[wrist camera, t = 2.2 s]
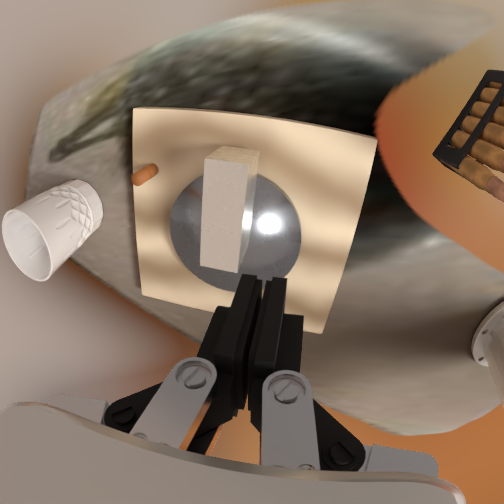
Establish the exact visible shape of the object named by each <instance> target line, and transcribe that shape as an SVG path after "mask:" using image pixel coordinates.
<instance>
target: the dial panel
mask: <svg viewBox="0 0 504 504" xmlns="http://www.w3.org/2000/svg"><path fill="white" fill-rule="evenodd" d="M377 141H378V140H377V139H376V138H375V137H372V136H368V135H364V134H359V133H355V132H351V131H346V130H342V129H337V128H332V127H327V126H322V125H317V124H312V123H307V122H301V121H295V120H289V119H283V118H276V117H269V116H262V115H254V114H246V113H237V112H228V111H217V110H205V109H190V108H171V107H138V108H133V174H132V176H131V181H132V183H133V189H134V210H135V225H136V239H137V250H138V261H139V270H140V279H141V288H142V295H145V296H149V297H153V298H156V299H160V300H164V301H168V302H172V303H176V304H180V305H184V306H188V307H192V308H197V309H201V310H205V311H209V312H215V309H216V307H217V306H225V307H230V306H231V304H232V301H233V298H234V295H235V292H231V291H226V290H222V289H219V288H216V287H214V286H211V285H209V284H207V283H205V282H204V281H202V280H201V279H199V278H198V277H197V276H195V275H194V274H193V273H192V272H191V271H190V270H189V269H188V268H187V267H186V266H185V265H184V264H183V262H182V261H181V259H180V258H179V256H178V255H177V253H176V251H175V249H174V246H173V243H172V240H171V235H170V216H171V211H172V208H173V205H174V203H175V201H176V199H177V197H178V196H179V195H180V193H181V192H182V191H183V190H184V189H185V188H186V187H187V186H188V185H189V184H190V183H191V182H192V181H194V180H195V179H197V178H198V177H200V176H201V175H203V174H204V161H205V158H206V157H207V156H209V155H210V154H212V153H213V152H214V151H216V150H217V149H219V148H220V147H222V146H229V147H236V148H244V149H251V150H257V151H260V156H259V164H258V172H257V173H258V174H260V175H262V176H264V177H266V178H268V179H269V180H271V181H272V182H274V183H275V184H277V185H278V186H279V187H280V188H281V189H282V190H283V191H284V192H285V193H286V194H287V195H288V197H289V198H290V200H291V201H292V203H293V204H294V206H295V208H296V210H297V212H298V215H299V218H300V222H301V229H302V239H301V247H300V252H299V256H298V259H297V261H296V263H295V265H294V266H293V268H292V269H291V271H290V272H289V273H288V274H287V275H286V276H285V277H284V278H287V289H286V301H285V312H284V313H286V314H296V315H304V324H303V331H307V332H313V333H319V334H322V332H323V329H324V326H325V324H326V321H327V318H328V315H329V312H330V309H331V306H332V303H333V300H334V298H335V295H336V292H337V288H338V285H339V282H340V279H341V276H342V273H343V270H344V267H345V263H346V260H347V257H348V254H349V250H350V247H351V243H352V240H353V237H354V233H355V230H356V226H357V222H358V219H359V215H360V211H361V208H362V204H363V200H364V196H365V192H366V188H367V184H368V180H369V176H370V172H371V168H372V163H373V159H374V155H375V150H376V145H377ZM263 293H264V289H263V290H262V297H263Z"/></svg>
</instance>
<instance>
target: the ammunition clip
mask: <svg viewBox="0 0 504 504" xmlns="http://www.w3.org/2000/svg"><path fill="white" fill-rule="evenodd" d="M496 146H497V147H496ZM498 147H499V148H498ZM500 148H501V149H503V150H504V71H499V70H488V71H487V72H486V73H485V75H484V76H483V78H482V80H481V81H480V83H479V85H478V86H477V88H476V89H475V91H474V93H473V94H472V96H471V97H470V99H469V100H468V102H467V104H466V105H465V107H464V108H463V110H462V111H461V113H460V114H459V116H458V117H457V119H456V120H455V122H454V123H453V125H452V126H451V128H450V129H449V131H448V132H447V133H446V135H445V137H444V138H443V139H442V141H441V142H440V144H439V145H438V147H437V148H436V149H435V151H434V152H433V156H434V157H435V158H437V159H438V160H439V161H440V162H441V163H442V164H443V165H444V166H445V167H447V168H449V169H450V170H452V171H454V172H455V173H457V174H459V175H460V176H462V177H463V178H465V179H467V180H468V181H470V182H471V183H472V184H474V185H475V186H477V187H478V188H479V189H482V190H485V191H487V192H488V193H490V194H492V195H493V196H494V197H496V198H497V199H499V200H501V201H503V202H504V182H503V181H501V180H500V179H499V178H498V177H496V176H495V175H494V174H493V173H492V172H491V171H490V170H489V169H488V168H487V167H486V166H488V167H490V168H492V169H493V170H497V171H500V172H503V173H504V151H503V150H501V149H500ZM467 155H469V156H471V157H472V158H474V159H476V160H474V159H472V158H471V157H469V156H467ZM483 164H485V165H486V166H484V165H483Z"/></svg>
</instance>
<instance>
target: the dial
mask: <svg viewBox="0 0 504 504" xmlns="http://www.w3.org/2000/svg"><path fill="white" fill-rule="evenodd" d="M259 156H260V151H257V150H251V149H244V148H236V147H229V146H222V147H220V148H219V149H217V150H216V151H214V152H213V153H212V154H210V155H209V156H207V157H206V158H205V161H204V174H203V175H201V176H200V177H198V178H197V179H195V180H194V181H192V182H191V183H190V184H189V185H188V186H187V187H186V188H185V189H184V190H183V191H182V192H181V193H180V195H179V196H178V197H177V199H176V201H175V203H174V205H173V208H172V211H171V216H170V235H171V240H172V243H173V246H174V249H175V251H176V253H177V255H178V256H179V258H180V259H181V261H182V262H183V264H184V265H185V266H186V267H187V268H188V269H189V270H190V271H191V272H192V273H193V274H194V275H195V276H197V277H198V278H199V279H201V280H202V281H204V282H205V283H207V284H209V285H211V286H214V287H216V288H219V289H222V290H226V291H231V292H236V289H237V287H238V284H239V281H240V278H241V275H242V274H250V275H257V279H261V280H262V290H263V289H265V284H266V281H267V280H270V281H272V278H273V277H280V278H284V277H285V276H286V275H287V274H288V273H289V272H290V271H291V269H292V268H293V266H294V265H295V263H296V261H297V259H298V256H299V252H300V247H301V239H302V229H301V222H300V218H299V215H298V212H297V210H296V208H295V206H294V204H293V203H292V201H291V200H290V198H289V197H288V195H287V194H286V193H285V192H284V191H283V190H282V189H281V188H280V187H279V186H278V185H277V184H275V183H274V182H272V181H271V180H269V179H268V178H266V177H264V176H262V175H260V174H258V173H257V172H258V164H259Z"/></svg>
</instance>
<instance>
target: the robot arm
mask: <svg viewBox="0 0 504 504" xmlns="http://www.w3.org/2000/svg"><path fill="white" fill-rule="evenodd" d="M286 289H287V278H280V277H273V278H272V281H270V280H267V281H266V284H265V289H264V293H263V297H262V280H261V279H257V275H250V274H242V275H241V278H240V281H239V284H238V287H237V289H236V292H235V295H234V298H233V301H232V304H231V306H230V307H225V306H217V307H216V309H215V312H214V314H213V317H212V319H211V322H210V324H209V327H208V329H207V332H206V334H205V337H204V339H203V342H202V344H201V347H200V349H199V352H198V354H197V357H191V358H186V359H183V360H181V361H180V362H178V363H177V364H176V365H175V366H174V367H173V368H172V370H171V371H170V373H169V374H168V376H167V377H166V379H165V380H164V382H161V383H160V384H157V385H154V386H152V387H149V388H147V389H145V390H142V391H140V392H138V393H135V394H132V395H130V396H127V397H125V398H122V399H120V400H117V401H116V402H114V403H108V402H107V401H106V400H99V399H90V398H83V397H76V396H70V395H63V394H62V395H56V396H53V397H52V398H51V399H49V400H48V402H47V404H43V403H37V402H36V403H35V402H17V403H13V404H10V405H8V406H6V407H5V408H4V409H3V410H2V411H0V504H467V503H466V500H465V498H464V495H463V494H462V492H461V491H460V489H459V488H458V487H457V486H456V485H454V484H452V483H451V482H448V481H446V480H444V479H441V478H438V464H437V462H436V460H435V458H434V457H432V456H431V455H430V454H427V453H423V452H416V451H409V450H403V449H396V448H390V447H385V446H380V445H375V444H373V445H372V446H368V445H363V444H362V443H361V442H360V441H359V440H358V439H357V438H356V437H355V436H354V435H352V434H351V433H350V432H349V431H348V430H347V429H346V428H344V427H343V426H342V425H341V424H340V423H339V422H338V421H337V420H336V419H335V418H333V417H332V416H331V415H330V414H329V413H328V412H327V411H326V410H325V409H324V408H322V407H321V406H320V405H319V404H318V403H317V402H316V401H315V400H314V399H313V398H312V390H311V386H310V382H309V381H308V380H307V378H306V377H305V376H303V375H302V374H300V362H301V350H302V338H303V324H304V315H296V314H286V313H284V312H285V301H286ZM471 350H472V354H473V357H474V359H475V361H476V362H477V363H479V364H480V365H483V366H489V368H490V371H491V373H492V376H493V379H494V381H495V384H496V387H497V390H498V393H499V396H500V399H501V402H502V405H503V409H504V301H503V302H501V303H500V304H499V305H498V306H496V307H495V308H494V309H493V310H492V311H491V312H490V313H489V314H488V315H487V316H486V317H485V318H484V319H483V321H482V322H481V324H480V325H479V327H478V328H477V330H476V332H475V334H474V336H473V339H472V344H471ZM247 394H248V410H249V411H251V423H252V424H253V425H254V427H255V428H256V429H257V430H258V431H259V432H260V445H259V465H257V464H250V463H244V462H238V461H232V460H226V459H221V458H216V457H211V456H209V455H210V453H211V451H212V449H213V447H214V445H215V443H216V441H217V439H218V437H219V435H220V433H221V430H222V428H223V424H224V423H225V422H228V421H229V420H231V419H232V417H233V416H235V417H236V416H237V413H238V409H242V410H243V409H244V407H245V403H246V399H247ZM503 504H504V503H503Z"/></svg>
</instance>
